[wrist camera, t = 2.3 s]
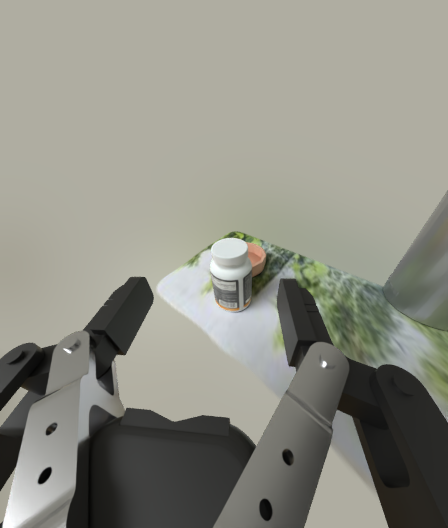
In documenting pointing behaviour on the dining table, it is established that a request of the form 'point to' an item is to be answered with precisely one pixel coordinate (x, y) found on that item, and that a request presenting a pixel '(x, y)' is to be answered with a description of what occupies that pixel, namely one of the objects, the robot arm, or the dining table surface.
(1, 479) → the robot arm
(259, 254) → the bowl
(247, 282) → the pill bottle
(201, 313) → the dining table surface
